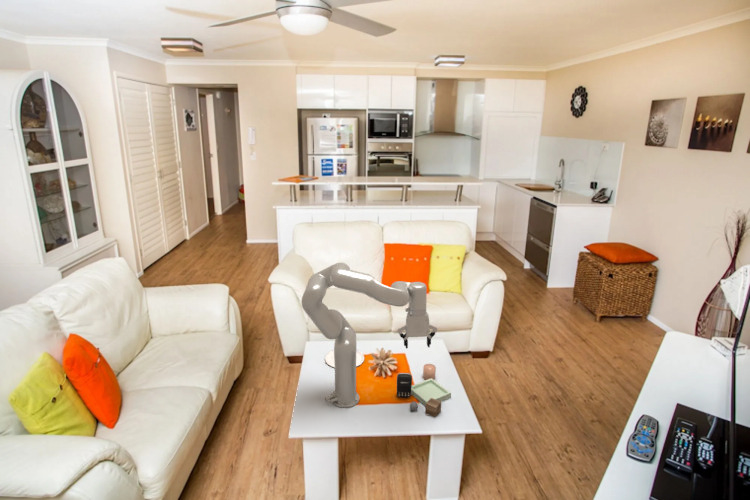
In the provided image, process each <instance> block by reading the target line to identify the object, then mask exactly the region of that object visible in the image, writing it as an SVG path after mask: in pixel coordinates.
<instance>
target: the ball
mask: <svg viewBox="0 0 750 500" xmlns="http://www.w3.org/2000/svg"><path fill="white" fill-rule="evenodd" d="M418 407H419V405H418V403H417V401H411V402H410V404H409V408H410V409H411V410H412V411H416V410H418Z"/></svg>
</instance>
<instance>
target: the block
mask: <svg viewBox="0 0 750 500" xmlns="http://www.w3.org/2000/svg"><path fill="white" fill-rule="evenodd" d="M424 406H425V405H424ZM424 409H425V410H424V413H425V415H428V416H431V417H433V418H436V417H437V416H439V415H440V413H441V412H442V401H441V402H440V401H438V400H435V399H433V398H431V399H430V400H429V401H428V402H427V403H426V406H425V408H424Z"/></svg>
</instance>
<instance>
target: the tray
mask: <svg viewBox="0 0 750 500" xmlns="http://www.w3.org/2000/svg"><path fill="white" fill-rule="evenodd" d="M411 396H413V397H414V398H415V399H416V400H417V401H419V403H421V404H422V405H423V406H426V403H427V402H428V401H429V400H430V399H431V398H433V399H435V400H438V401H440V402H441V403H442V402H443V401H446V400H448V399H450V398H451V397H452V392H450V391H449V390H448V389H447V388H445V387H444V385H441V384H440V383H439V382H437V381H436V380H433V379H432V378H431V379H428V380H423V381H421V382H417V383H415V384H412V387H411Z"/></svg>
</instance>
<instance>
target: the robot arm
mask: <svg viewBox="0 0 750 500" xmlns="http://www.w3.org/2000/svg"><path fill="white" fill-rule="evenodd" d="M331 287H335V288H338V289H342V290H346V291H351V292H355V293H358V294H363V295H366V296H367V297H369V298H370V299H373V300H375V301H377V302H379V303H382V304H385V305H389V306H393V307H398V308H399V307H404V306H406V305H407V304H408V307H407V308H405V309H404V311H405V312H406V319H405V325H404V326H402V327H400V328H398V329H397V333H398V334H399V336H400V338H402V339H403V346H404V347H405V349H408V347H409V344H408V343H409V341H408V338H421V337H422V338H423V337H424V338H425V337H426V346H427V348H430V345H431V344H432V339H433V337H434V336H435V335H436V333H437V331H438V328H437V327H436V326H434V325H431V324H430V315H429V313H428V312H427V284H426V283H424V282H421V281H413V282H408V281H401V280H400V281H399V280H398V281H394V282H392V284H391V285H390V286H388V285H385V284H383V283H381V282H380V281H378V280H377V279H376V278H375V277H374V276H373V275H371V274H369V273H364V272H360V271H357V270H353V269H350V266H349V265H348V264H347V263H346V262H336V263H334V264H332V265H330V266H328V267H326V268H324V269H322V270H319V271H318V272H316V273H314V274H313V275H311V276H310V278H309V279H308V281H307V284H306V288H305V289H304V292H303V295H302V297H301V307H302V310H303V311H304V313H305V314H306V315H307V316H308V317H309V319H310V320H311V321H312V323H313V324H314V325H315V326H316V328H317V329H318V330H319V331H320V333H321V334H322V335H323V336H324V338H326V339H329V340H334V344H333V345H334V347H333V351H334V361H335V368H334V390H332V393H331V394H330V395H327V396H325V397H324V400H325V402H328V401H329V402H330V403H332V404H333V405H335V406H336V407H337V408H343V409H344V408H345V409H347V408H352V407H354V406H356V405H357V404H358V403H359V401H360V395H359V393H358V392H357V367H356V350H357V333H356V331H355V330H354V328H353V327H352V325H351V324H350V322H348V320H347V319H346V317H344V315H343V314H342V313H341V312H340V311H339V310H337V309H332V308H331V309H329V308H328V306H327V305H326V304H325V303H323V299H324V298H325V296H326V294H327V290H328V289H329V288H331ZM431 330H432V331H431ZM404 331H405V333H403V332H404ZM430 331H431V332H430Z"/></svg>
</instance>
